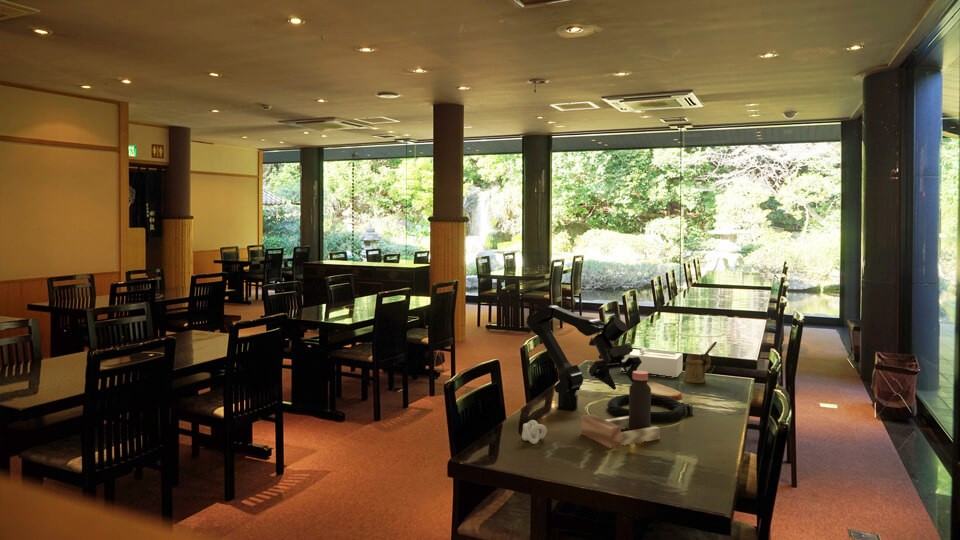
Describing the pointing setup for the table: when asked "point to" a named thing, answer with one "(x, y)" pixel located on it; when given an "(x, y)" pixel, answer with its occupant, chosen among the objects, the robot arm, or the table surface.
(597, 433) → the track
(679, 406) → the cable lock
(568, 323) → the robot arm
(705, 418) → the table surface
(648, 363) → the tissue box
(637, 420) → the vinegar
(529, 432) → the knot
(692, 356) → the wooden mug
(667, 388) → the bread slice
